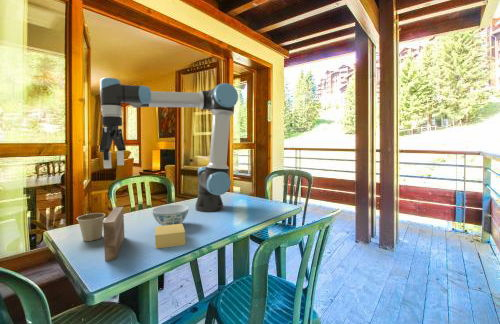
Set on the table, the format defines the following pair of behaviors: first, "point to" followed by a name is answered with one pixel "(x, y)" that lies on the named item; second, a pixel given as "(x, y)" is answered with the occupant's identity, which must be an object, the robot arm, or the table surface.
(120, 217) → the walnut board
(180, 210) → the chinaware
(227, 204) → the table surface
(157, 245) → the mustard block
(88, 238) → the flower pot
